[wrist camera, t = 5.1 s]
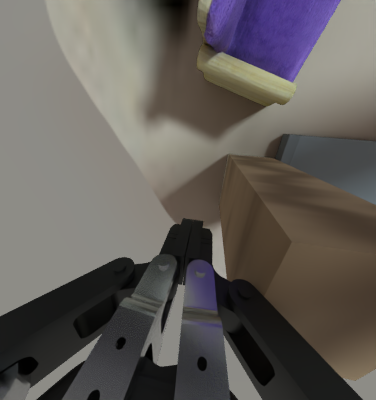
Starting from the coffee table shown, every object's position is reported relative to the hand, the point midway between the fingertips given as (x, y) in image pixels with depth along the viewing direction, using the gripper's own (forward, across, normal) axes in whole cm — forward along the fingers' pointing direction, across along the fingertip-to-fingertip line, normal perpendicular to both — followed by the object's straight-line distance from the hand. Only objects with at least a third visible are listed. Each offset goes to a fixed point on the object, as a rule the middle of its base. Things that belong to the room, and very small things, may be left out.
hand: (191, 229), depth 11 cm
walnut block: (+13, -6, 0) cm, 14 cm away
